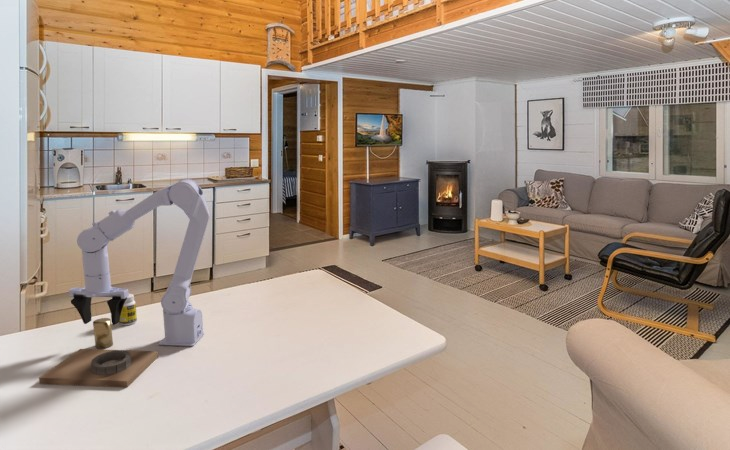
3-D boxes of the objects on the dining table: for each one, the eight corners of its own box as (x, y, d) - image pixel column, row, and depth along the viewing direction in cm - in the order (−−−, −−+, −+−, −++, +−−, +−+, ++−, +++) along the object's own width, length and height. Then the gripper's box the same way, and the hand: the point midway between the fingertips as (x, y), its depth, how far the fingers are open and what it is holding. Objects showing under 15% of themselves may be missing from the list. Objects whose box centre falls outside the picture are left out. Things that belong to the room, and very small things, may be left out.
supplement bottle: (129, 326, 131) (127, 299, 129) (115, 325, 131) (112, 297, 130) (140, 320, 135) (138, 293, 134) (126, 318, 136) (124, 292, 134)
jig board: (158, 356, 113) (157, 344, 112) (127, 387, 99) (126, 372, 99) (80, 354, 114) (79, 341, 113) (39, 383, 100) (37, 369, 99)
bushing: (116, 342, 120) (113, 318, 119) (107, 349, 116) (104, 324, 115) (101, 342, 121) (99, 317, 119) (92, 348, 117) (89, 323, 115)
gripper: (58, 277, 111) (64, 328, 114) (115, 278, 111) (120, 330, 113) (77, 268, 118) (82, 317, 120) (131, 270, 117) (135, 319, 120)
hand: (101, 322), depth 117 cm, fingers open, 7 cm apart
